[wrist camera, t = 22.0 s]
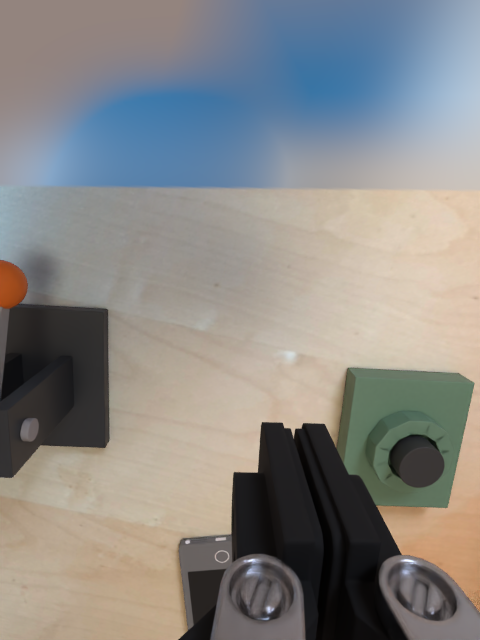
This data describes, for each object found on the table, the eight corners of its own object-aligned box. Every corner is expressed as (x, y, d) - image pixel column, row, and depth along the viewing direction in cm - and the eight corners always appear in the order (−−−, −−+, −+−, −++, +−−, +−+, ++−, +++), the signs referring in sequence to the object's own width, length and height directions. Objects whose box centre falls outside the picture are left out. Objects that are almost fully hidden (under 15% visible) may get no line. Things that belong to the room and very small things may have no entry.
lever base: (-18, 301, 31) (-141, 339, 21) (107, 309, 32) (49, 348, 21) (-7, 436, 34) (-110, 528, 24) (109, 440, 35) (58, 533, 24)
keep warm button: (393, 434, 31) (403, 446, 30) (437, 436, 31) (449, 448, 30) (386, 473, 32) (395, 487, 30) (429, 475, 32) (440, 489, 31)
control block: (347, 367, 34) (363, 385, 30) (459, 373, 34) (489, 391, 30) (331, 488, 36) (343, 519, 33) (434, 491, 37) (459, 523, 33)
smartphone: (271, 653, 41) (272, 661, 40) (193, 660, 40) (192, 668, 40) (264, 533, 37) (265, 538, 36) (178, 539, 37) (177, 545, 36)
